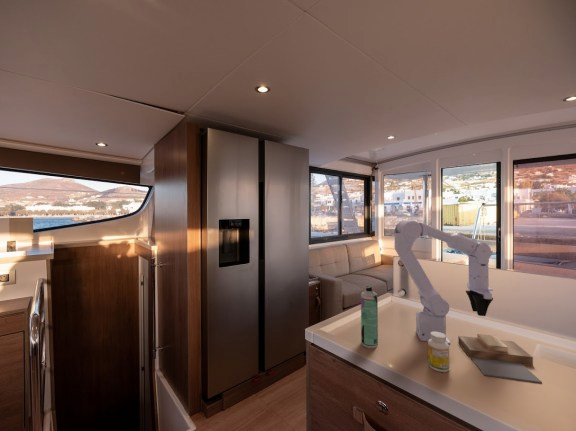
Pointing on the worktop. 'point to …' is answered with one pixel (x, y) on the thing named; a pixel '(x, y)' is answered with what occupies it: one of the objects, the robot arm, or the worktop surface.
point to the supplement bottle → (438, 352)
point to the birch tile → (492, 342)
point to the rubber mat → (505, 370)
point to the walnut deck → (480, 351)
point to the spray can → (369, 318)
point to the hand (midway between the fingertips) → (478, 313)
